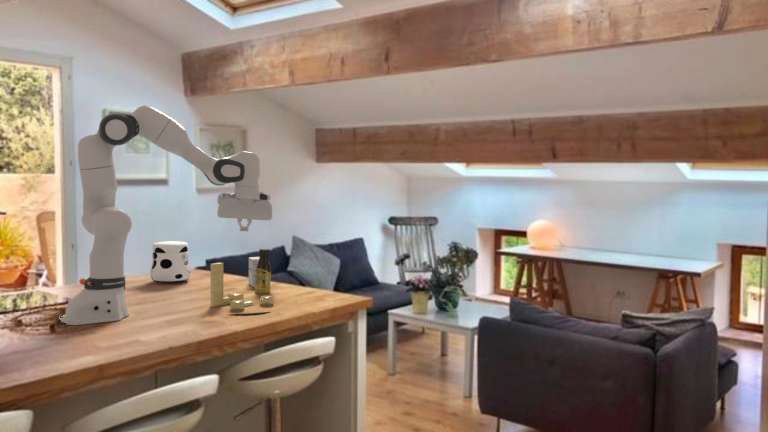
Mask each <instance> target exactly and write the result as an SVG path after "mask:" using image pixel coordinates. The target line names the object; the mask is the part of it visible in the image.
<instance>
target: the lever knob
mask: <svg viewBox="0 0 768 432" xmlns="http://www.w3.org/2000/svg"><path fill="white" fill-rule="evenodd" d="M234 300H242V301H244V302H245V300H244V293H242V292H231V293H228V294H227V296H224V262H214V263H210V307H212V308H216V307H220V306H225V305H230V302H231V301H234Z"/></svg>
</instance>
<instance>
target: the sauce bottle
mask: <svg viewBox="0 0 768 432" xmlns="http://www.w3.org/2000/svg"><path fill="white" fill-rule="evenodd" d="M258 251H259V252H258V253H259V257H260V258H259V261H258V264H257V267H256V279H255V287H254V292H255V294H258V295H259V294H260V295H261V294H262V295H265V294H270V293H271V282H272V281H271V279H272V265H271V262H270V259H269V258H270V257H269V254H270V248H265V247H262V248H259V249H258Z"/></svg>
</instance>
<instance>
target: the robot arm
mask: <svg viewBox="0 0 768 432" xmlns="http://www.w3.org/2000/svg"><path fill="white" fill-rule="evenodd" d="M98 125H99V127H98V130H97V132H96V133H94V134H90V135H86V136H84V137H82V138H80V139H79V141H78V145H77V160H78V167H79V174H80V182H81V185H82V187H81V188H82V195H83V196H82V197H83V198H82V199H83V200H82V202H83V203H82V211H83V212H82V213H83V214H82V216H81V224H82V226H83V227H84V229H85V230H86V231H87V232H88V233H89V234H91V235H93V236H94V238H93V243H92V244H93V245H92V249H91V252H89V253H90V254H89V277H87V278H86V279H85V278H82V277H81V278H80V279H79V280H78V282H79V284H80V285H83V286H84V288H83V289H82V290H81V291H80V292H79V293H77V294H76V295H75V296H73V297H72V298H71V299H69V301H68V302H67V304H66V309H65V314H62V315H63V316H61V315H60V316H61V317H63V318H60V316H59V317H58V320H59V319H60V320H61V321H62V322H64V323H66V324H65V325H68V326H69V325H70V326H80V325H81V326H82V325H88V324H99V323H105V322H106V323H107V322H108V323H109V322H115V321H121V320H123V318H125V317H129V315H130V312H129V309H128V304H127V301H126V293H125V291H126V275H124V272H125V271H124V270H125V269H124V268H125V264H124V263H125V262H124V260H125V259H124V258H125V256H124V255H125V248H126V243H127V239H128V234H129V233H130V232H131V228H132V226H133V225H132V219H131V217H130V216H129V215H128V214H127V213H126V212H125V211H124V210H123V209H121V208H118V207H116V193H117V190H118V182H117V175H116V171H115V169H116V168H115V163H114V158H113V151H114V148H116V147H117V146H122V145H126V144H127V143H128V142H130V141H131V140H133V139H134V138H135V137H137V136H139V137H141V138H144V139H146V140H147V141H149V142H151V143H152V144H154V145H155V146H157V147H159V148H161V149H162V150H163V151H164V150H165V151H166V152H169V153H171V154H174V155H176V156H178V157H181V158H182V159H184V160H185V161H187V162H188V163H190V164H191V165H193V166H195V167H196V168H197V169H199V170H200V171H201V172H202V173H203V174H204V176H205V177H206V179H207V181H209V182H210V183H211V184H212V185H215V186H225V185H227V184H234V193H226V192H222V193H220V194H219V195H218V196H217V204H218V207H217V213H216V214H217V217H218V218H220V219H221V218H225V219H237V220H236V221H237V224H238V225H239V231H240V232H249V227H250V226H251V225H252V221H254V220H257V221H271V220H272V218H273V206H272V203H271V202H270V200H271V195H269V194H266V193H264V192H263V191H262V192H261V191H259V188H260V187H259V180H260V179H259V178H260V174H261V173H260V172H261V171H260V170H261V169H260V168H261V163H260V157H259V156H258V155H257V154H255V153H254V152H250V151H246V150H240V151H239V152H237V153H235V154H233V155H230V156H226V157H221V158H216V157H212V156H210V155H209V154H207V153H206V152H205V151H203V150H201V148H199V147H197V146H196V145H195V144H193V142H192V141H191V140H190V138H189V134H188V132H187V130H186V128H184V127H183V126H182V125H181V124H180V123H179V122H177V120H175V119H173V118H172V117H170V116H168V115H167V114H165V113H163V112H162V111H160V110H159V109H156V108H154V107H152V106H149V105H141V106H139V107H137V108H135V110H134V111H133V112H132V113H131V114H124V113H120V112H112V113H108V114H107V115H105V116H104V117H103V118H102V119H101V120H100V122H99V124H98ZM243 220H246V223H247V224H246V225H245V226H243V225H242V221H243ZM62 322H61V323H62ZM64 323H63V324H64Z"/></svg>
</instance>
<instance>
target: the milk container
mask: <svg viewBox="0 0 768 432" xmlns="http://www.w3.org/2000/svg"><path fill="white" fill-rule="evenodd" d="M151 253H152V263H151V267H150V277H151V278H150V279H151V280H152V281H153V282H154V283H159V284H178V283H182V282H183V283H184V282H186V281H188V280H189V279H190V275H191V268H190V264H189V244H188V242H186V241H177V240H176V241H175V240H174V241H170V240H169V241H158V242H154V243H153V244H152V252H151Z"/></svg>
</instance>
